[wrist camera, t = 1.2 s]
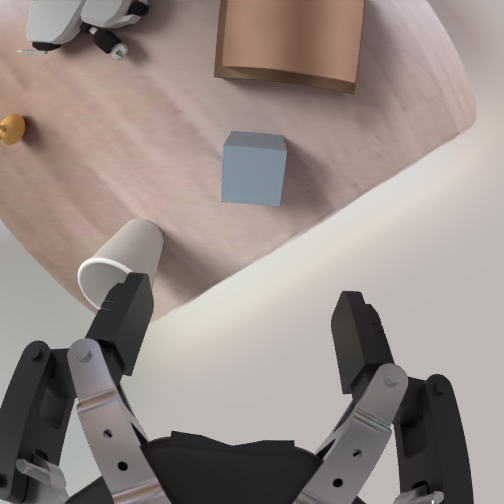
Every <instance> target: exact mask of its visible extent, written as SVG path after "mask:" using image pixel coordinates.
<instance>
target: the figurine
mask: <svg viewBox="0 0 504 504" xmlns="http://www.w3.org/2000/svg"><path fill="white" fill-rule="evenodd" d="M24 131H25V122H24V119H23V118H22V117H21V116H20V115H18V114H11V115H9V116H7V117H6V118H5V119H4V120H3V121H2V122H1V124H0V140H1V141H2V142H3V143H4V144H7V145H12V144H15V143H17V142H18V141H19V140H20V139H21V138H22V136H23V134H24Z"/></svg>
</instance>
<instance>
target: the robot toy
mask: <svg viewBox="0 0 504 504" xmlns="http://www.w3.org/2000/svg"><path fill="white" fill-rule="evenodd" d="M140 1H141V2H143V3H145V4H143V3H140ZM148 10H149V6H148V0H33V2H32V4H31V8H30V11H29V15H28V19H27V25H26V35H27V39H28V40H29V41H31V42H32V46H33V47H34V48H36V49H37V50H41V51H34V50H19V51H18V52H38V53H41V54H46V53H47V52H48V51H52V50H54V49H57V48H60V46H61V45H62V44H63V43H66V42H69V41H71V40H72V39H73V38H74V37H75V36H76V35H77V34H78V33H79V31H80V30H81V29H82V30H83V31H84V32H86V33H90V32H91V33H92V34H93V36H94V42H95V44H96V45H97V46H98V47H99V48H100V49H102V50H103V51H104V52H105V53H106V54H109V53H111V56H112V58H113V59H115V60H117V61H118V60H121V59H122V58H123V56H121V55H120V54H119V52H120V51H121V52H122V53H123V54H124V55H126V54H127V53H128V48H127V46H126V45H125V44H122V43H121V42H122V41H121V40H120V39H119V38H118V37H116V36H115V35H114V34H113V33H112V32H111V31H107V30H99V29H98V28H97V27H96V26H99V27H102V28H108V29H117V28H121V27H123V26H125V25H129V24H135V23H137V22H138V21H139V20H140V19H141V18H142V17H139V16H144V15H146V14H147V12H148Z"/></svg>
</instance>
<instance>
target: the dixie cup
mask: <svg viewBox="0 0 504 504" xmlns="http://www.w3.org/2000/svg"><path fill="white" fill-rule="evenodd" d="M163 245H164V238H163V234H162V232H161V230H160V229H159V228H158V227H157V226H156V225H155V224H154V223H153V222H151V221H149V220H146V219H142V218H136V219H132V220H130V221H129V222H127V223H126V224H125V225H124V226H123V227H122V228H121V229H120V230H119V231H118V232H117V233H116V234H115V235H114V236H113V237H112V238H111V239H110V240H108V241H107V242H106V243H105V244H104V245H103V246H102V247H101V248H100V249H99V250H98V251H97V252H96V253H95V254H94V255H93V256H92V257H91V258H90V259H88V260H86V261H85V262H84V263H83V264H82V265H81V267H80V268H79V271H78V282H79V285H80V288H81V290H82V292H83V294H84V295H85V297H86V298H87V299H88V301H89V302H90V303H91V304H92V305H93V306H95V307H96V308H97V309H98V310H99V309H100V307H101V305H102V303H103V301H104V299H105V297H106V295H107V294H108V292H109V290H110V289H111V288H112V287H113V286H115V285H116V284H117V283H124V281H125V279H126V277H127V275H128V274H129V272H137V273H146V274H148V276H149V280H150V285H151V290H152V288H153V284H154V280H155V276H156V272H157V268H158V264H159V260H160V256H161V252H162V249H163Z"/></svg>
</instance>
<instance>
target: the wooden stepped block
mask: <svg viewBox="0 0 504 504" xmlns="http://www.w3.org/2000/svg"><path fill="white" fill-rule="evenodd" d="M363 13H364V0H221V3H220V13H219V23H218V34H217V45H216V58H215V71H214V77H220V78H243V79H257V80H268V81H278V82H286V83H294V84H301V85H307V86H313V87H319V88H325V89H330V90H335V91H340V92H344V93H349V94H353V95H354V90H355V83H356V76H357V69H358V61H359V53H360V44H361V35H362V25H363Z"/></svg>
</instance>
